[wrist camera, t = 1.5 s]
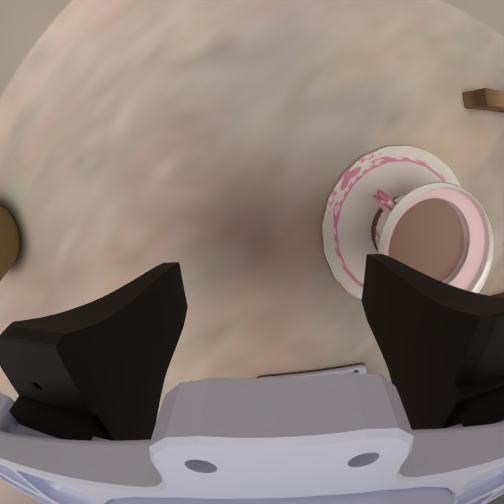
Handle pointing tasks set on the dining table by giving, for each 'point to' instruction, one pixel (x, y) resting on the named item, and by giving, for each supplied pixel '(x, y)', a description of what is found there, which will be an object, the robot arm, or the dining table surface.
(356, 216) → the teacup
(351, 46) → the dining table surface
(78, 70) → the dining table surface
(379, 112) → the dining table surface
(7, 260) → the squeeze bottle
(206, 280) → the dining table surface
